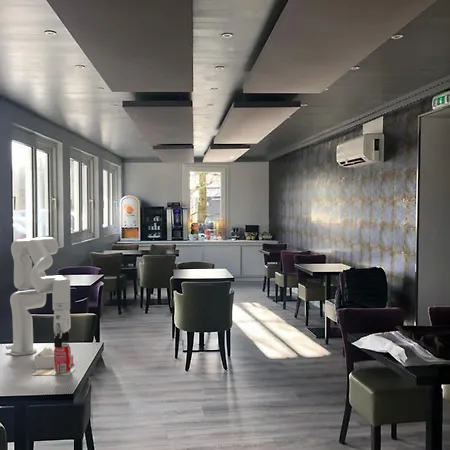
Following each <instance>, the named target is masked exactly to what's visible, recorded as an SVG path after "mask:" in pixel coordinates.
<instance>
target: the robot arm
mask: <svg viewBox="0 0 450 450" xmlns="http://www.w3.org/2000/svg"><path fill="white" fill-rule="evenodd" d="M58 251H59V244H58V240H56V239H55V238H54V237H51V236H49V237H48V236H47V237H45V236H44V237H35V238H34V237H33V238H21V239H15V240H13V242H12V243H11V246H10V252H11V255H12V258H13V285H14V287H15V289H18V290H19V291H15V292H13V293H12V294H11V295H10V298H9V302H10V307H11V314H12V315H11V316H12V341H13V342H12V344H6V345H5V349H6V350H10V351H9V353H10V355H11V356H27V355H32V354H35V353H36V352H37V347H36V348H35V347H34V328H33V327H34V326H33V322H34V321H33V316H32V315H31V313H30V312H29V311H28V310H30V309H31V310H32V309H37V308H43V307H45V305H46V303H47V294H52V298H51V299H52V311H53V338H54V339H53V341H54V348H55V347H62V343H63V342H69V341H70V329H71V328H72V327H71V322H72V321H71V311H70V310H71V280H70V278H67V277H66V276H63V275H47V274H46V272H45V271H46V270H48V269H49V268H50V267H52V265H53V263H54V260H53V259H54V258H53V256H52V255H55V254H57V253H58ZM33 264H34V265H33ZM23 289H26V290H23ZM27 289H29V290H27Z"/></svg>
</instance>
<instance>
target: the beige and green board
mask: <svg viewBox="0 0 450 450" xmlns="http://www.w3.org/2000/svg"><path fill="white" fill-rule="evenodd" d="M75 370H76V369H75V368H71V370H70V371H69V372H67V373H57V372H56V371H55V368H42V369H37V370H36V371H35V372H33V373H32V374H31V376H32V377H39V376H41V377H42V376H45V377H46V376H47V377H49V376H51V377H52V376H70V375H71V374H73V373H74V372H75Z"/></svg>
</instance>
